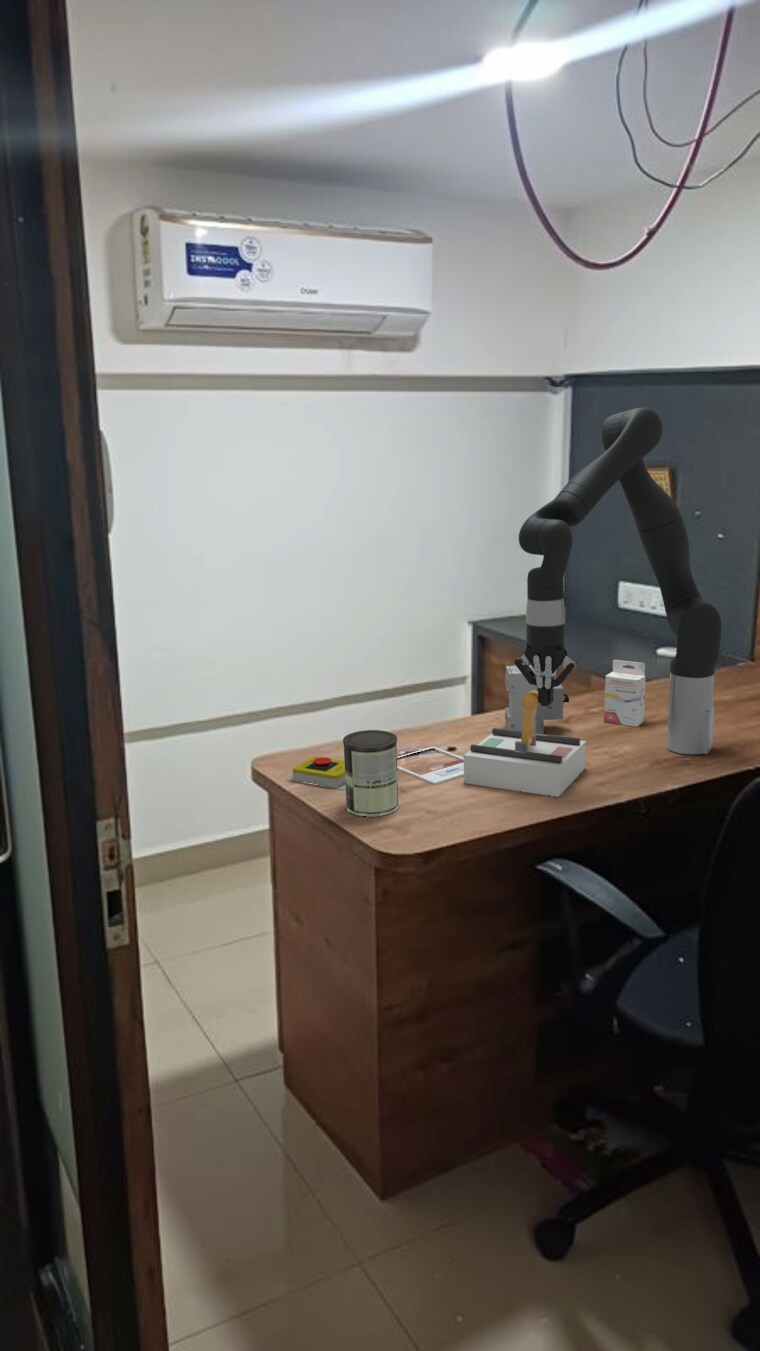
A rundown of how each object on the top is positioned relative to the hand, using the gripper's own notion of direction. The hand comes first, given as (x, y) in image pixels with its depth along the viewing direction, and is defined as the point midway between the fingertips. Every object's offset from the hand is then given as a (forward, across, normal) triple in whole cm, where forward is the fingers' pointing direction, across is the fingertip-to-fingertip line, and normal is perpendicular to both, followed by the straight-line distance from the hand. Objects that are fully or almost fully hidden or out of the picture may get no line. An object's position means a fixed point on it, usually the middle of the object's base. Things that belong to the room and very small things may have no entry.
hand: (545, 705), depth 201 cm
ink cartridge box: (+16, -5, -44) cm, 47 cm away
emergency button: (+16, +42, +17) cm, 48 cm away
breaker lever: (+10, +4, 0) cm, 11 cm away
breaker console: (+16, +4, 0) cm, 16 cm away
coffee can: (+16, +26, +28) cm, 41 cm away
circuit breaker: (+16, +12, -30) cm, 36 cm away
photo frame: (+16, +24, +2) cm, 29 cm away
